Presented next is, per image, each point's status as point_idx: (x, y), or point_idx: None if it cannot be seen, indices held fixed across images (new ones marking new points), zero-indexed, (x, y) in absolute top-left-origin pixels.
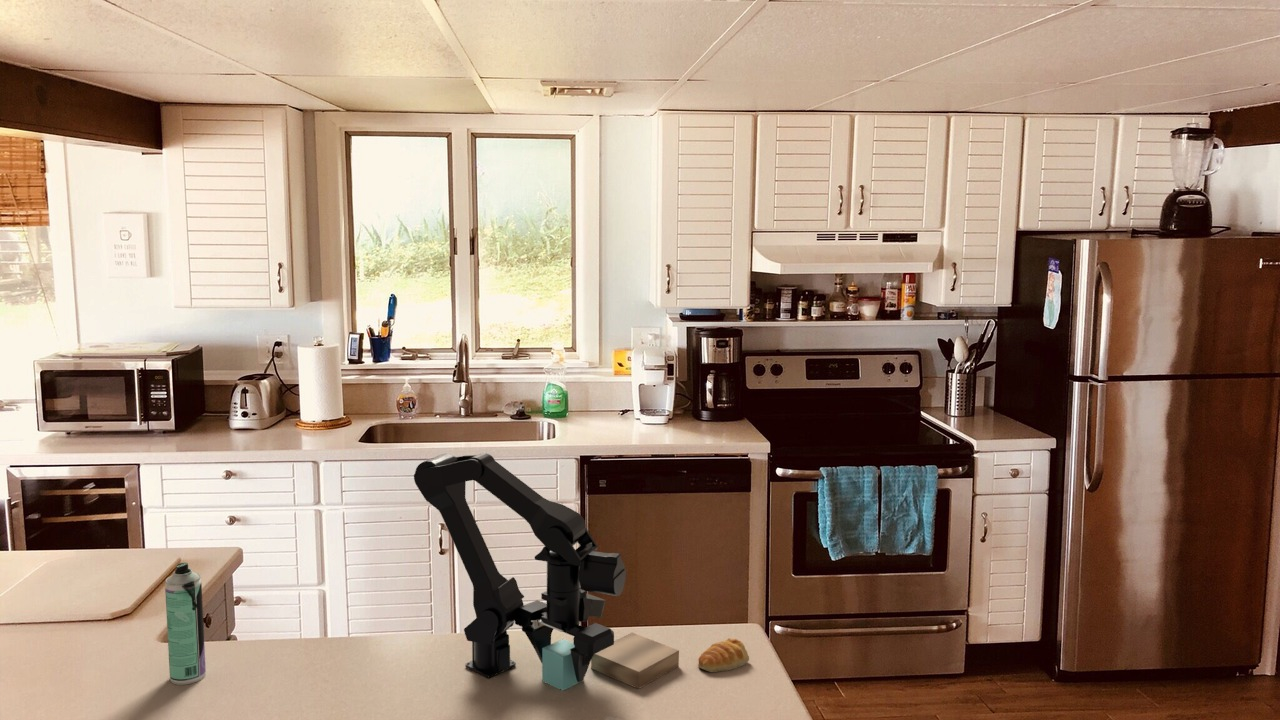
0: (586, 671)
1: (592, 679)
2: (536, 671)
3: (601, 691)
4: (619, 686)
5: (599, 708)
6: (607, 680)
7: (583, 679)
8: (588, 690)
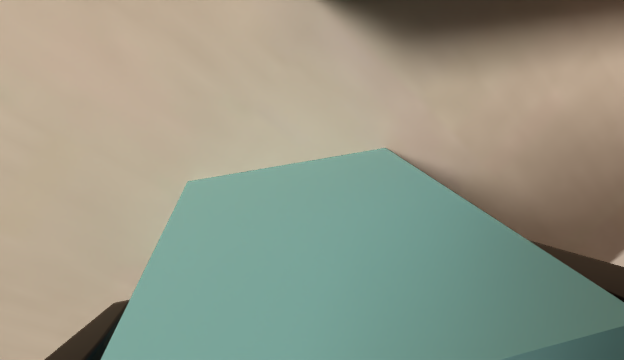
0: (549, 246)
1: (420, 95)
2: (90, 316)
3: (548, 148)
4: (606, 16)
5: (617, 249)
6: (504, 20)
7: (389, 152)
8: (486, 197)
